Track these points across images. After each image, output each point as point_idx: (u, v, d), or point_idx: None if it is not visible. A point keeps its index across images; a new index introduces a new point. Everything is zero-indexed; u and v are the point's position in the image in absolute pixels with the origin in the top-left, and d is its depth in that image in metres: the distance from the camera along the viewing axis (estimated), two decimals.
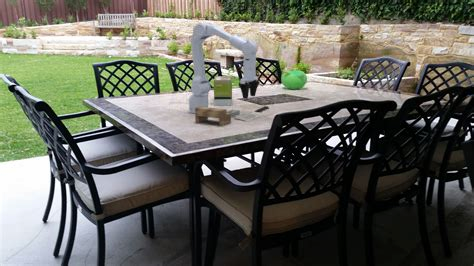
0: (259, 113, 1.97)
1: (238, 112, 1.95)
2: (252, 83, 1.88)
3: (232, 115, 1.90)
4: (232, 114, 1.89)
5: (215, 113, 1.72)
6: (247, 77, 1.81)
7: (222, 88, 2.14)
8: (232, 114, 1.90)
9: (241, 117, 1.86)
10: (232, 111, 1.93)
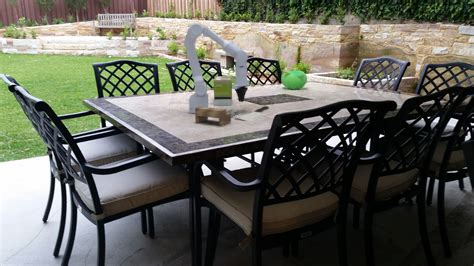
0: (259, 113, 1.97)
1: (237, 112, 1.95)
2: None
3: (232, 115, 1.90)
4: (232, 114, 1.90)
5: (215, 113, 1.72)
6: (239, 83, 1.95)
7: (222, 88, 2.14)
8: (233, 114, 1.90)
9: (241, 117, 1.86)
10: (232, 111, 1.93)
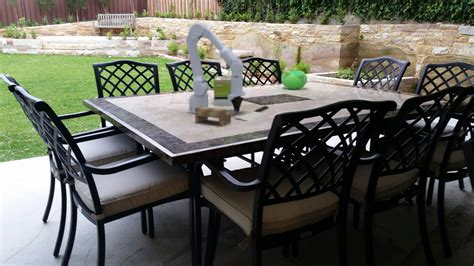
0: (259, 113, 1.97)
1: (235, 111, 1.95)
2: None
3: (231, 115, 1.89)
4: (231, 114, 1.89)
5: (215, 113, 1.72)
6: (234, 93, 1.92)
7: (222, 88, 2.14)
8: (232, 113, 1.89)
9: (241, 117, 1.86)
10: (230, 111, 1.93)
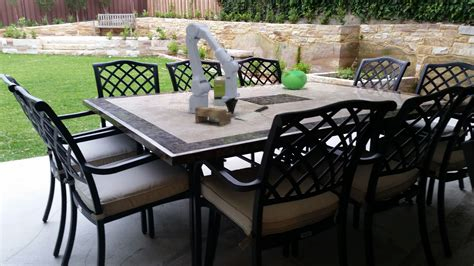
0: (259, 113, 1.97)
1: None
2: None
3: None
4: None
5: (215, 113, 1.72)
6: (229, 95, 1.87)
7: (222, 88, 2.14)
8: None
9: (241, 117, 1.87)
10: None
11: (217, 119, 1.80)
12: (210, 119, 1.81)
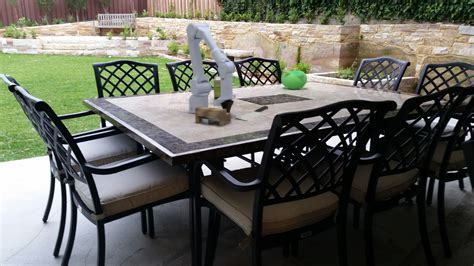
0: (259, 113, 1.97)
1: None
2: None
3: (216, 119, 1.81)
4: (216, 118, 1.81)
5: (215, 113, 1.72)
6: (224, 96, 1.83)
7: None
8: None
9: (241, 117, 1.87)
10: None
11: (209, 121, 1.77)
12: (202, 121, 1.78)
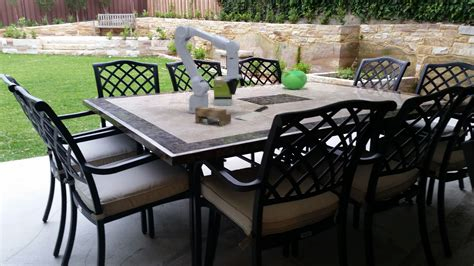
0: (259, 113, 1.98)
1: None
2: None
3: (216, 119, 1.81)
4: (216, 118, 1.81)
5: (215, 113, 1.72)
6: (230, 75, 1.89)
7: (222, 88, 2.14)
8: (216, 118, 1.81)
9: (241, 117, 1.87)
10: None
11: (209, 121, 1.77)
12: (202, 121, 1.78)
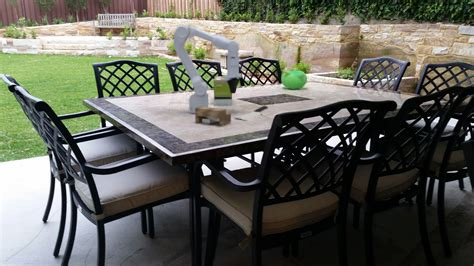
0: (258, 113, 1.98)
1: None
2: None
3: (216, 119, 1.82)
4: (216, 118, 1.81)
5: (215, 113, 1.72)
6: (231, 74, 1.93)
7: (222, 88, 2.14)
8: (217, 118, 1.82)
9: (241, 117, 1.87)
10: None
11: (211, 121, 1.77)
12: (203, 121, 1.77)
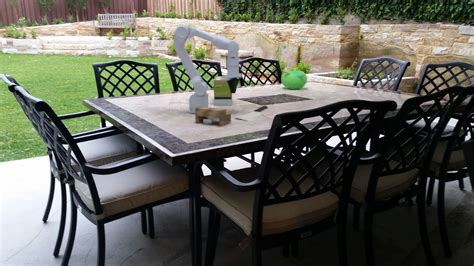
0: (258, 113, 1.98)
1: None
2: None
3: (217, 119, 1.82)
4: (217, 118, 1.82)
5: (215, 113, 1.72)
6: (231, 74, 1.93)
7: (222, 88, 2.14)
8: None
9: (241, 117, 1.87)
10: None
11: (212, 121, 1.77)
12: (205, 122, 1.77)
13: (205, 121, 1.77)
